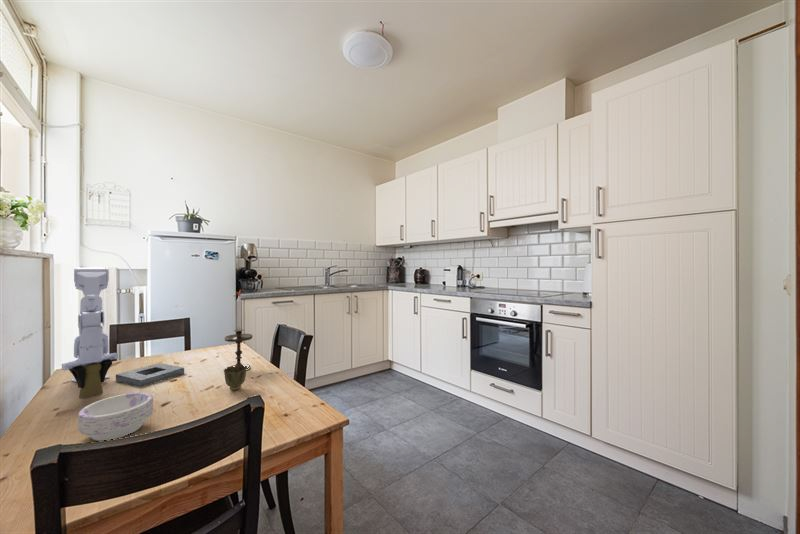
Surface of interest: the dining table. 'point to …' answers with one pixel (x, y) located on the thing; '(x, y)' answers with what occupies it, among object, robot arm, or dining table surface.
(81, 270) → the robot arm
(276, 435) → the dining table surface
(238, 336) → the candlestick
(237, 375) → the cup
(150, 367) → the plate
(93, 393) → the olive tapered cylinder
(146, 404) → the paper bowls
